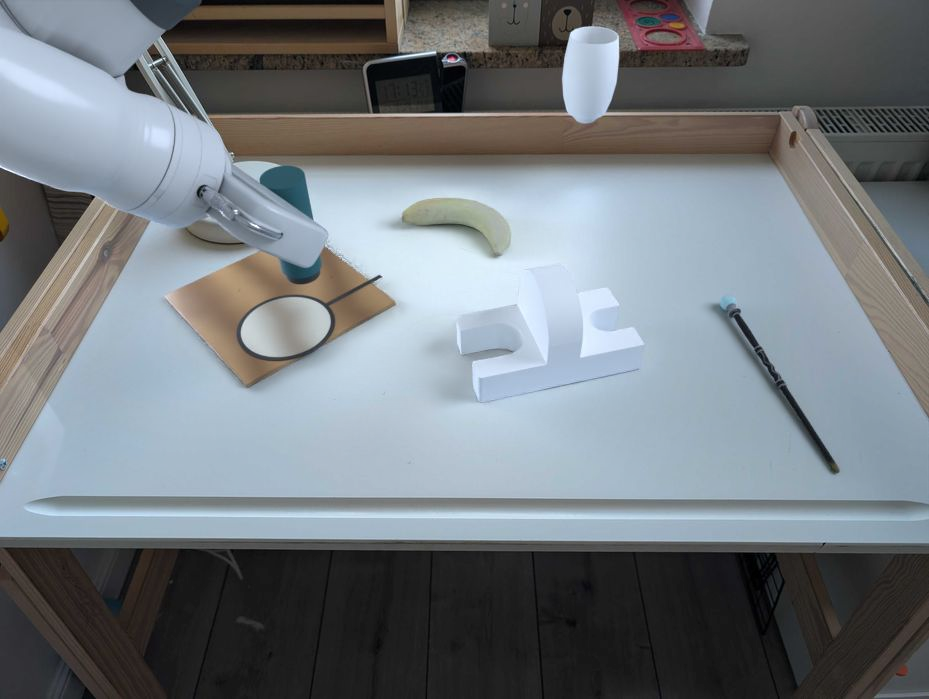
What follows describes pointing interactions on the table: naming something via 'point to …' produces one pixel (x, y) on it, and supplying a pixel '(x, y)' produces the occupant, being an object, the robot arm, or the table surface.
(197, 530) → the table surface
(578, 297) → the block with arch cutout
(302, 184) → the teal cylinder
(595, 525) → the table surface
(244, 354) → the brown flat square board
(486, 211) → the fruit
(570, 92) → the cup
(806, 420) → the magic staff
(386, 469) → the table surface
